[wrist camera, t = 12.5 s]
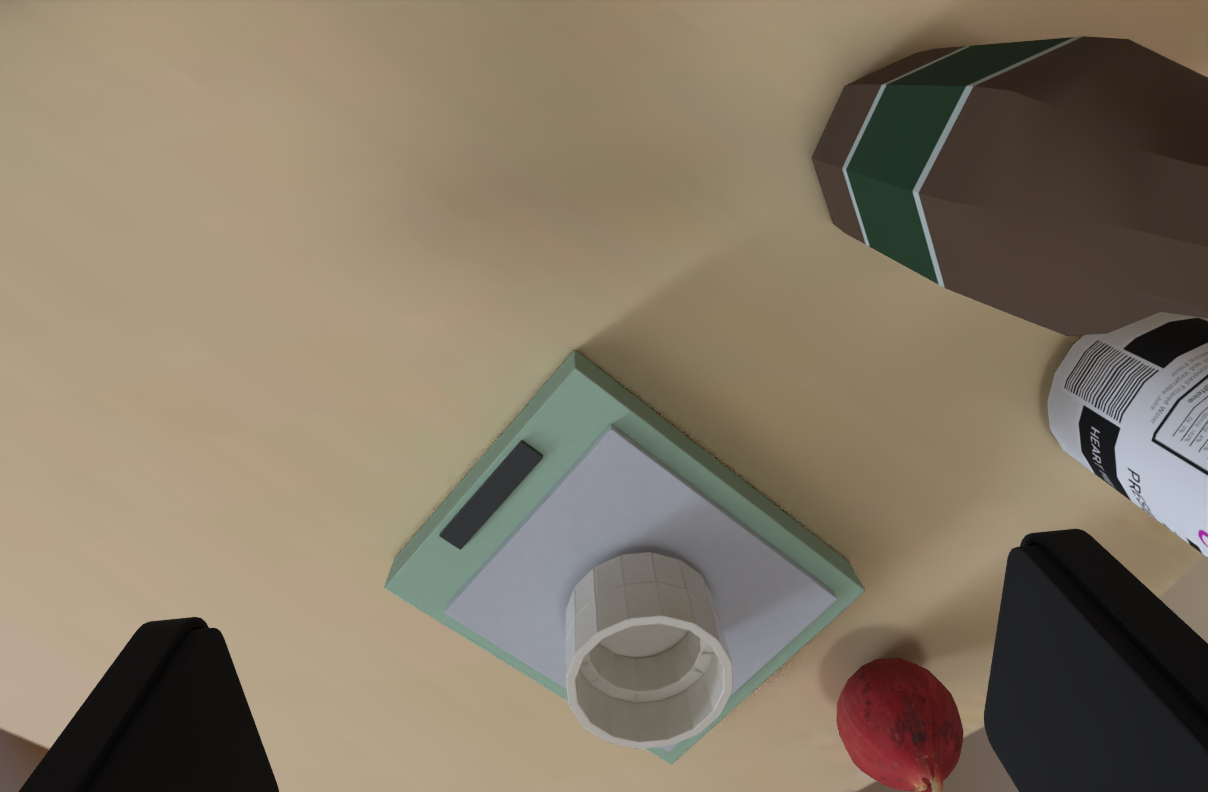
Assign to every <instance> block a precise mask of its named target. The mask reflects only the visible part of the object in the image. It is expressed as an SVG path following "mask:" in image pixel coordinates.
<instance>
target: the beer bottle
mask: <svg viewBox="0 0 1208 792" xmlns="http://www.w3.org/2000/svg"><path fill="white" fill-rule="evenodd" d="M812 161H813V164H814V167H815V170H816V173H817V176H818V179H819V182H820V185H821V188H822V191H823V194H824V197H825V200H826V203H827V206H828V210H829V213H830V216H831V219H832V222H833V224H834V225H836V226H837V227H838V228H839V229H841V230H842V231H843V232H844V233H846V234H848V235H850V236H851V237H853V238H855V239H857V240H859V241H860V242H862V243H864V244H866V245H868V246H870V247H871V248H873V249H875V250H877V251H879V252H880V253H882V254H884V255H886V256H888V257H890V258H891V259H893V260H895V261H897V262H899V263H900V264H902V265H904V266H906V267H908V268H910V269H911V270H913V271H915V272H917V273H919V274H920V275H922V276H924V277H926V278H928V279H929V280H931V281H933V282H935V283H937V284H939V285H940V286H942V287H944V288H946V289H949V290H951V291H954V292H956V293H959V294H961V295H964V296H966V297H969V298H971V299H974V300H976V301H979V302H981V303H984V304H986V305H989V306H992V307H994V308H997V309H999V310H1002V311H1004V312H1007V313H1009V314H1012V315H1014V316H1017V317H1019V318H1022V319H1024V320H1027V321H1029V322H1032V323H1035V324H1037V325H1040V326H1042V327H1045V328H1048V329H1050V330H1053V331H1056V332H1058V333H1061V334H1064V335H1066V336H1070V335H1090V334H1107V333H1110V332H1112V331H1115V330H1117V329H1120V328H1122V327H1125V326H1127V325H1129V324H1132V323H1134V322H1137V321H1139V320H1142V319H1144V318H1147V317H1149V316H1152V315H1154V314H1156V313H1159V312H1164V313H1172V314H1179V315H1186V316H1194V317H1201V318H1208V78H1207V77H1205V76H1203V75H1201V74H1199V73H1197V72H1195V71H1193V70H1191V69H1189V68H1187V67H1185V66H1182V65H1180V64H1178V63H1176V62H1174V61H1172V60H1170V59H1168V58H1166V57H1164V56H1162V55H1160V54H1158V53H1156V52H1154V51H1152V50H1149V49H1147V48H1145V47H1143V46H1141V45H1139V44H1137V43H1135V42H1133V41H1131V40H1129V39H1117V38H1100V37H1072V38H1060V39H1047V40H1035V41H1023V42H1011V43H999V44H987V45H975V46H963V47H951V48H939V49H932V50H928V51H923V52H919V53H915V54H913V55H911V56H908V57H906V58H904V59H902V60H900V61H898V62H895V63H893V64H891V65H889V66H887V67H885V68H882V69H880V70H878V71H876V72H874V73H872V74H869V75H867V76H865V77H863V78H861V79H859V80H856V81H854V82H852V83H850V84H848V85H846V86H844V88H843V91H842V93H841V95H840V97H839V99H838V101H837V104H836V106H835V108H834V110H833V112H832V115H831V117H830V119H829V121H828V123H827V125H826V128H825V130H824V132H823V134H822V136H821V138H820V141H819V143H818V145H817V147H816V149H815V152H814V154H813V156H812Z"/></svg>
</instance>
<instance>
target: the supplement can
mask: <svg viewBox="0 0 1208 792" xmlns="http://www.w3.org/2000/svg"><path fill="white" fill-rule="evenodd" d="M1047 406H1048V414H1049V422H1050V430H1051V431H1052V433H1053V434H1054V436H1055V438H1056V439H1057V441H1058V442H1059V444H1060V446H1061V447H1062V449H1063V450H1064V451H1065V452H1066V453H1068V454H1069V455H1070V456H1072V457H1073V458H1074V459H1076V460H1077V461H1078V462H1080V463H1081V464H1082V465H1084V466H1085V467H1086V468H1088V469H1089V470H1090V471H1092V472H1093V473H1094V474H1096V475H1097V476H1098V477H1100V478H1101V479H1103V480H1104V481H1105V482H1107V483H1108V484H1109V485H1111V486H1112V487H1113V488H1115V489H1116V490H1117V491H1119V492H1120V493H1121V494H1123V495H1124V496H1125V497H1127V498H1128V499H1129V500H1131V501H1132V502H1133V503H1135V504H1136V505H1138V506H1139V507H1140V508H1142V509H1143V510H1144V511H1146V512H1147V513H1148V514H1150V515H1151V516H1152V517H1154V518H1155V519H1156V520H1158V521H1159V522H1160V523H1162V524H1163V525H1164V526H1166V527H1167V528H1168V529H1170V530H1171V531H1173V532H1174V533H1175V534H1177V535H1178V536H1179V537H1181V538H1182V539H1183V540H1185V541H1186V542H1187V543H1189V544H1190V545H1191V546H1193V547H1194V548H1195V549H1197V550H1198V551H1199V552H1201V553H1202V554H1204V555H1205V556H1206V557H1208V318H1201V317H1194V316H1186V315H1179V314H1172V313H1164V312H1159V313H1156V314H1154V315H1152V316H1149V317H1147V318H1144V319H1142V320H1139V321H1137V322H1134V323H1132V324H1129V325H1127V326H1125V327H1122V328H1120V329H1117V330H1115V331H1112V332H1110V333H1107V334H1090V335H1083V336H1082V337H1081V338H1080V339H1079V340H1078V341H1077V342H1076V343H1074V344H1073V345H1072V347H1071V348H1070V350H1069V352H1068V353H1067V355H1066V356H1065V358H1064V359H1063V361H1062V363H1061V364H1060V366H1059V367H1058V369H1057V370H1056V372H1055V374H1054V378H1053V382H1052V386H1051V389H1050V393H1049V397H1048V401H1047Z"/></svg>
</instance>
